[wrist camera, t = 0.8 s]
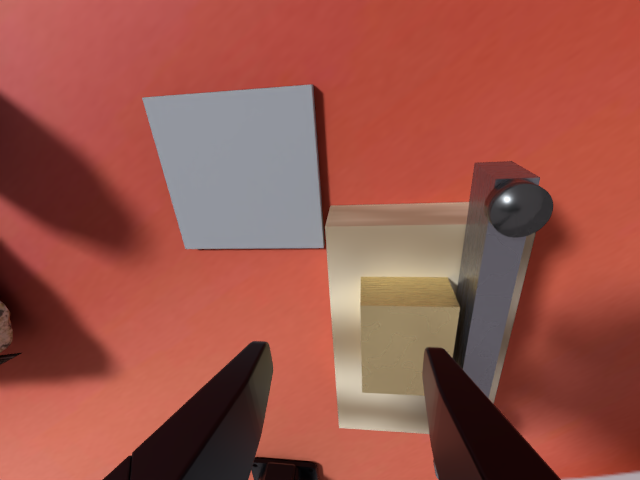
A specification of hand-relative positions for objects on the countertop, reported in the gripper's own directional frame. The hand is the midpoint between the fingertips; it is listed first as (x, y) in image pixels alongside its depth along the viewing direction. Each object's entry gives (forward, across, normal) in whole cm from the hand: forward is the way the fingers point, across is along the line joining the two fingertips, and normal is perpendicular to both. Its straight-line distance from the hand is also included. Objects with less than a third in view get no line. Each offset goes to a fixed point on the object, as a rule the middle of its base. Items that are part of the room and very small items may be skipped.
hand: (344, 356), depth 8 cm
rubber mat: (+12, +6, -2) cm, 14 cm away
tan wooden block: (+9, -2, +6) cm, 11 cm away
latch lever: (+9, -6, +5) cm, 12 cm away
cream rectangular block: (+12, -4, +8) cm, 15 cm away
